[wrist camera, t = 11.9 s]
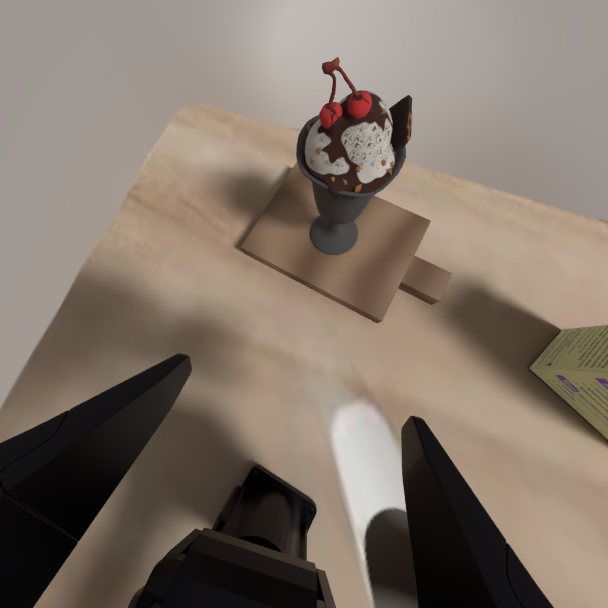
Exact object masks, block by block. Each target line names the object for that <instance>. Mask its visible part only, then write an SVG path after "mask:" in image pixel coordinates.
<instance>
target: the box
mask: <svg viewBox="0 0 608 608" xmlns="http://www.w3.org/2000/svg"><path fill="white" fill-rule="evenodd" d="M529 368H530V370H532V371H533V372H534V373H535V374H536V375H537V376H538V377H540V378H541V379H542V380H543V381H544V382H545V383H546V384H547V385H548V386H550V387H551V388H552V389H553V390H554V391H555V392H556V393H557V394H558V395H560V396H561V397H562V398H563V399H564V400H565V401H566V402H567V403H568V404H569V405H571V406H572V407H573V408H574V409H575V410H576V411H577V412H578V413H579V414H580V415H582V416H583V417H584V418H585V419H586V420H587V421H588V422H589V423H590V424H591V425H592V426H594V427H595V428H596V429H597V430H598V431H599V432H600V433H601V434H602V435H603V436H604V437H605V438H606V439H607V440H608V325H602V326H593V327H582V328H573V329H563V330H561V331H560V333H559V334H558V335H557V336H556V337H555V338H554V340H553V341H552V342H551V343H550V344H549V345H548V346H547V347H546V349H545V350H544V351H543V352H542V353H541V354H540V355H539V357H538V358H537V359H536V360H535V361H534V363H533V364H532V365H531V366H530V367H529Z"/></svg>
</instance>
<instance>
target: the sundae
mask: <svg viewBox="0 0 608 608" xmlns="http://www.w3.org/2000/svg"><path fill="white" fill-rule="evenodd" d="M322 69H323V72H324V74H328V75H330V76H332V78H333V87H332V93H331V97H330V100H329V103H327V104H325V105H324V106H323V108H322V110H321V112H320V113H319V115H318V116H315V117H314V118H312V119H310V120H309V121H308V122H307V123H306V124H305V126H304V127H303V128H302V130H301V132H300V134H299V136H298V142H297V153H296V156H297V162H298V166H299V168H300V171H301V172H302V173H303V175H304V176H305V177H307V178H308V179H309V180H311V181H312V186H313V193H314V199H315V202H316V206H317V209H318V211H319V214H320V216H319V217H318V218H317V219H316V220H315V221H314V222H313V224H312V226H311V231H310V237H311V240H312V242H313V244H314V245H315V247H316V248H317V249H319V250H320V251H322V252H324V253H326V254H329V255H340V254H343V253H346V252H348V251H349V250H350V249H351V248H352V247H353V246H354V245H355V243H356V241H357V239H358V229H357V226H356V224H355V222H354V220H355V219H356V218H357V217H358V216H359V215H360V214H361V213H362V211H363V210H364V209H365V208H366V206H367V204H368V203H369V201H370V199H371V198H372V196H373V195H375V194H377V193H378V192H380V191H381V190H383V189H384V188H385V187H386V186H387V185H388V184H389V183H390V182H391V181H392V180H393V179H394V178H395V177H396V176H397V175H398V173H399V171H400V170H401V168H402V166H403V163H404V161H405V158H406V148H405V145H406V144H407V143H408V141H409V140H410V137H411V130H412V110H411V108H412V98H411V97H410V96H409V95H408V96H406V97H405V98H403V99H402V100H400V101H399V102H398V103H396V104H395V105H393V106H392V107H391V108H390V109H388V108H387V106H386V104H385V103H384V102H383V101H382V99H381V98H380V97H378V96H377V95H376V94H375V93H373V92H370V91H356V89H355V87H354V86H353V84H352V83H351V82H350V80H349V79H348V77H347V76H346V74H345V73H344V71H343V70H342V68H340V67H339V58H338V57H337V58H336V59H334V60H333V61H332V62H325V63H323V64H322ZM334 70H337V71H339V72H340V73H341V74H342V76H343V78H344V79H345V81H346V82H347V84H348V85H349V87H350V88H351V90H352V92H353V93H351V94H350V95H348V96H346V97H345V98H344V99H342V100H341V101H340V102H339V103H337V102H333V99H334V95H335V90H336V78H335V75H334V74H333V73H332V72H333V71H334Z"/></svg>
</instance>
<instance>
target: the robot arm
mask: <svg viewBox="0 0 608 608" xmlns="http://www.w3.org/2000/svg"><path fill="white" fill-rule="evenodd" d="M191 370H192V367H191V361H190V357H189V356H188V355H185V354H182V353H179V354H176V355H174V356H172V357H170V358H168V359H166V360H164V361H162V362H161V363H159V364H157V365H155V366H153V367H151V368H149V369H147V370H145V371H143V372H141V373H139V374H137V375H135V376H133V377H132V378H130V379H128V380H126V381H124V382H122V383H120V384H118V385H116V386H114V387H112V388H110V389H108V390H106V391H104V392H102V393H101V394H99V395H97V396H95V397H93V398H91V399H89V400H87V401H85V402H83V403H81V404H79V405H77V406H75V407H73V408H71V409H70V411H65V412H64V413H62V414H60V415H58V416H56V417H54V418H52V419H50V420H48V421H46V422H44V423H42V424H40V425H38V426H36V427H34V428H32V429H30V430H28V431H25V432H23V433H21V434H19V435H17V436H15V437H13V438H10V439H8V440H6V441H4V442H2V443H0V608H33V607H34V605H35V604H36V603H37V601H38V600H39V598H40V597H41V595H42V594H43V592H44V591H45V590H46V588H47V587H48V585H49V584H50V582H51V581H52V580H53V578H54V577H55V575H56V574H57V572H58V571H59V569H60V568H61V567H62V565H63V564H64V562H65V561H66V559H67V558H68V556H69V555H70V554H71V552H72V551H73V549H74V548H75V546H76V545H77V543H78V541H79V540H80V539H81V538H82V536H83V535H84V533H85V532H86V530H87V529H88V527H89V526H90V525H91V523H92V522H93V520H94V519H95V517H96V516H97V514H98V513H99V512H100V510H101V509H102V507H103V506H104V504H105V503H106V502H107V500H108V499H109V497H110V496H111V494H112V493H113V491H114V490H115V489H116V487H117V486H118V484H119V483H120V481H121V480H122V479H123V477H124V476H125V474H126V473H127V471H128V470H129V468H130V467H131V466H132V464H133V463H134V461H135V460H136V458H137V457H138V456H139V454H140V453H141V451H142V450H143V448H144V447H145V445H146V444H147V443H148V441H149V440H150V438H151V437H152V435H153V434H154V433H155V431H156V430H157V428H158V427H159V425H160V424H161V422H162V421H163V420H164V418H165V417H166V415H167V414H168V412H169V411H170V409H171V408H172V406H173V404H174V403H175V401H176V399H177V397H178V395H179V394H180V392H181V390H182V388H183V386H184V385H185V383H186V381H187V379H188V377H189V376H190V374H191ZM401 441H402V477H403V486H404V495H405V503H406V511H407V519H408V527H409V535H410V543H411V551H412V559H413V568H414V574H415V575H414V576H415V583H416V592H417V600H418V608H554V607H553V606H552V604H551V603H550V602H549V600H548V599H547V598H546V596H545V595H544V594H543V592H542V591H541V590H540V588H539V587H538V585H537V584H536V583H535V581H534V580H533V578H532V577H531V575H530V574H529V573H528V571H527V570H526V568H525V567H524V565H523V564H522V563H521V561H520V560H519V558H518V557H517V555H516V554H515V552H514V551H513V549H512V548H511V547H510V545H509V544H508V543H506V539H505V538H504V536H503V535H502V534H501V532H500V531H499V529H498V528H497V526H496V525H495V523H494V522H493V520H492V519H491V517H490V516H489V515H488V513H487V512H486V510H485V509H484V507H483V506H482V504H481V503H480V501H479V500H478V498H477V497H476V496H475V494H474V493H473V491H472V490H471V488H470V487H469V485H468V484H467V482H466V481H465V479H464V478H463V477H462V475H461V474H460V472H459V471H458V469H457V468H456V466H455V465H454V463H453V462H452V460H451V459H450V458H449V456H448V455H447V453H446V452H445V450H444V449H443V447H442V446H441V444H440V443H439V441H438V440H437V438H436V437H435V436H434V434H433V433H432V431H431V430H430V428H429V427H428V425H427V424H426V422H425V421H424V420H423V419H422V418H419V417H416V416H410V417H409V418H408V420H407V421H406V423H405V424H404V425H403V427H402V431H401ZM255 470H256V471H258V474H257V475H256V474H254V471H255ZM309 507H312V508H313V510H312V511H309V510H308V508H309ZM316 512H317V510H316V504H315V503H314V502H313V501H312V500H310V499H309V498H307V497H306V496H304V495H303V494H301V493H300V492H298V491H297V490H295V489H294V488H292V487H291V486H289V485H288V484H286V483H285V482H283V481H282V480H280V479H279V478H277V477H276V476H274V475H273V474H271V473H269V472H268V471H266V470H265V469H263V468H262V467H260V466H259V465H255V466H253V467H252V468H251V470H250V472H249V474H248V476H247V478H246V480H245V482H244V483H243V485H242V487H241V486H236V487H235V488H234V490H233V492H232V494H231V495H230V497H229V499H228V501H227V503H226V504H225V506H224V508H223V510H222V511H221V513H220V515H219V517H218V519H217V520H216V522H215V524H214V526H213V528H212V530H211V529H208V528H204V529H203V530H202V531H201V530H198V529H195V530H193V531H192V532H191V533H190V534H189V535H188V536H186V537H185V538H184V539H183V540H182V541H181V542H180V543H178V544H177V545H176V546H175V547H174V548H173V549H171V550H170V551H169V552H168V553H167V554H166V555H165V556H164V558H163V559H162V560H160V561H159V562H158V563H157V564H156V565H155V567H154V569H153V570H152V572H151V574H150V576H149V579H148V581H147V583H146V585H145V586H144V587H142V588H141V589H140V590H138V591H137V592H136V593H135V595H134V596H133V598H132V600H131V602H130V604H129V606H128V608H336V606H335V603H334V599H333V596H332V593H331V589H330V586H329V583H328V580H327V576H326V573H325V571H323V570H320V569H317V568H316V566H315V563H312V562H309V561H307V532H308V530H309V528H310V525H311V523H312V521H313V519H314V517H315V515H316Z"/></svg>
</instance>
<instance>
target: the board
mask: <svg viewBox="0 0 608 608" xmlns="http://www.w3.org/2000/svg"><path fill="white" fill-rule="evenodd" d="M319 216H320V214H319V211H318V209H317V206H316V202H315V199H314V193H313V186H312V181H311V180H309V179H308V178H307V177H305V176H304V175H303V173H302V172H301V171H300V168H299V166H298V162H296V164H295V165H294V167H293V168H292V170H291V172H290V173H289V175H288V176H287V178H286V179H285V181H284V182H283V184H282V185H281V187H280V188H279V190H278V191H277V193H276V194H275V196H274V197H273V199H272V200H271V202H270V203H269V205H268V206H267V208H266V209H265V211H264V212H263V214H262V215H261V217H260V218H259V220H258V221H257V223H256V224H255V226H254V227H253V229H252V231H251V232H250V234H249V235H248V237H247V238H246V240H245V241H244V243H243V244H242V246H241V249H242V250H243V252H244V253H245V254H247V255H249V256H251V257H252V258H254V259H256V260H258V261H260V262H262V263H264V264H266V265H268V266H270V267H272V268H273V269H275V270H277V271H279V272H281V273H283V274H285V275H287V276H289V277H291V278H292V279H294V280H296V281H298V282H300V283H302V284H304V285H306V286H308V287H310V288H312V289H313V290H315V291H317V292H319V293H321V294H323V295H325V296H327V297H329V298H331V299H332V300H334V301H336V302H338V303H340V304H342V305H344V306H346V307H348V308H350V309H351V310H353V311H355V312H357V313H359V314H361V315H363V316H365V317H367V318H369V319H371V320H372V321H374V322H376V323H379V322H381V321H382V320H383V318H384V316H385V314H386V312H387V310H388V308H389V306H390V304H391V301H392V299H393V297H394V295H395V293H396V291H397V289H398V288H399V289H401V290H403V291H405V292H407V293H409V294H411V295H413V296H415V297H417V298H419V299H422V300H424V301H426V302H428V303H430V304H434V303H436V302H439V301H440V299H441V297H442V295H443V292H444V290H445V288H446V286H447V283H448V281H449V279H450V277H451V274H452V273H450V272H448V271H446V270H444V269H442V268H439V267H437V266H435V265H433V264H431V263H429V262H427V261H425V260H423V259H420V258H418V257H416V256H414V254H415V252H416V250H417V248H418V246H419V244H420V242H421V240H422V238H423V236H424V234H425V232H426V230H427V228H428V226H429V224H430V222H431V221H430V220H428V219H425V218H423V217H421V216H419V215H417V214H414V213H412V212H410V211H408V210H405V209H403V208H401V207H399V206H396V205H394V204H392V203H390V202H388V201H385V200H383V199H381V198H379V197H376V196H374V195H373V196H372V198H371V199H370V201H369V203H368V204H367V206H366V208H365V209H364V210H363V211H362V213H361V214H360V215H359V216H358V217H357V218H356V219H355V220H354V222H355V224H356V226H357V229H358V239H357V241H356V243H355V245H354V246H353V247H352V248H351V249H350V250H349V251H348V252H346V253H343V254H340V255H329V254H326V253H324V252H322V251H320V250H319V249H317V248H316V247H315V245H314V244H313V242H312V240H311V237H310V231H311V226H312V224H313V222H314V221H315V220H316V219H317V218H318V217H319Z"/></svg>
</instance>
